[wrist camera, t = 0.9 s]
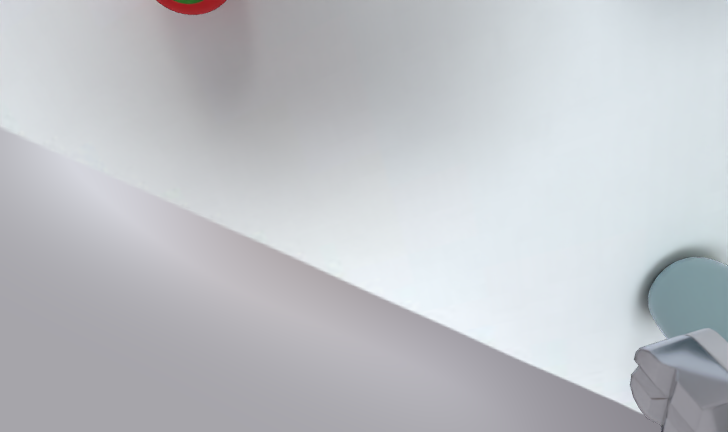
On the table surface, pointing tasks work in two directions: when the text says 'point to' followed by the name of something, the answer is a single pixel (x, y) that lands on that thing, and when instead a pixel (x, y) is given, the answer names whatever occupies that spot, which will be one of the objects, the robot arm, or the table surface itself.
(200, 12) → the strawberry
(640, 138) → the table surface
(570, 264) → the table surface
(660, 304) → the cup
